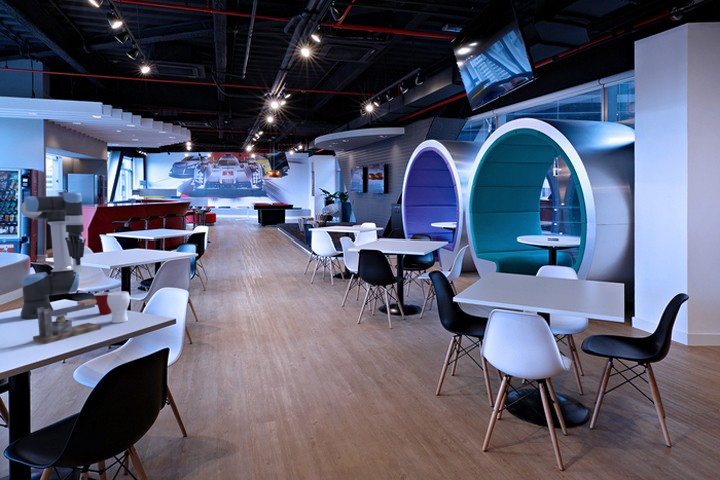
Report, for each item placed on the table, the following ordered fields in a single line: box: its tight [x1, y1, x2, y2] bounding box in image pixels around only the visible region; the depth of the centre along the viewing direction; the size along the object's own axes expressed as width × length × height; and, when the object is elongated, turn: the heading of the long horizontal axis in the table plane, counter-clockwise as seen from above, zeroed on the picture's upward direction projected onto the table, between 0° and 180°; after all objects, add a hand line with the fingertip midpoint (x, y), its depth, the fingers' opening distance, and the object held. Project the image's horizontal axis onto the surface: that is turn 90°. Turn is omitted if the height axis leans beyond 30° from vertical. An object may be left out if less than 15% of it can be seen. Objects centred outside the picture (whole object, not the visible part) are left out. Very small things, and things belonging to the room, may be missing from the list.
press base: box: [32, 307, 102, 345], centre depth 225 cm, size 26×10×15 cm, turn 152°
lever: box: [43, 298, 97, 318], centre depth 226 cm, size 23×6×5 cm, turn 152°
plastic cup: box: [93, 291, 113, 316], centre depth 265 cm, size 11×11×12 cm
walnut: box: [55, 316, 67, 323], centre depth 222 cm, size 4×4×4 cm
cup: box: [107, 290, 131, 324], centre depth 249 cm, size 11×11×15 cm
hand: (77, 271), depth 234 cm, fingers closed
